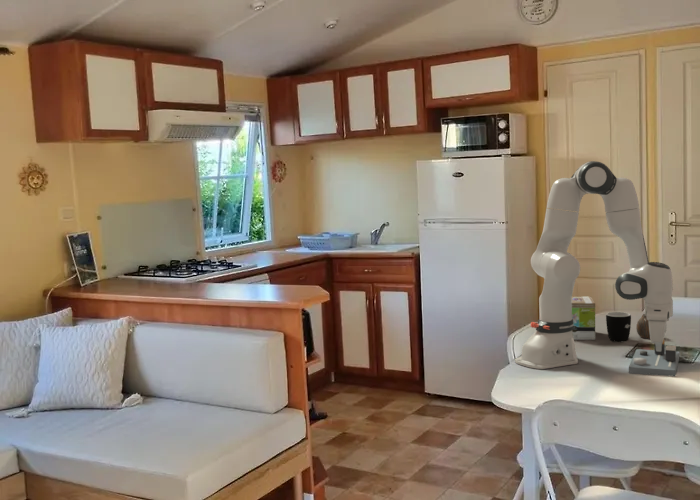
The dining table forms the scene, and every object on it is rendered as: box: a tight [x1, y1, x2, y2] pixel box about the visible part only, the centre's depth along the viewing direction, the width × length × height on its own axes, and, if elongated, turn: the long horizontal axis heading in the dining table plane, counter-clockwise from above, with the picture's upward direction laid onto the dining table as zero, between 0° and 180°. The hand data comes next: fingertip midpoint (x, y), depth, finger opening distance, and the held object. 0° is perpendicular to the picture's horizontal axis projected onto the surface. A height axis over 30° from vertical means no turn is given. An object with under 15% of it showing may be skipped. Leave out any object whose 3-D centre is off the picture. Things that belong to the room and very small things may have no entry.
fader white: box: [665, 345, 677, 361], centre depth 251 cm, size 2×3×4 cm
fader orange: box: [654, 339, 666, 354], centre depth 260 cm, size 2×3×4 cm
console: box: [628, 348, 681, 377], centre depth 255 cm, size 24×14×4 cm, turn 154°
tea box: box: [572, 296, 596, 341], centre depth 300 cm, size 15×10×15 cm, turn 168°
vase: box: [636, 313, 650, 339], centre depth 293 cm, size 7×7×9 cm
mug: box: [605, 311, 632, 343], centre depth 291 cm, size 12×9×10 cm
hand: (658, 350), depth 258 cm, fingers closed
